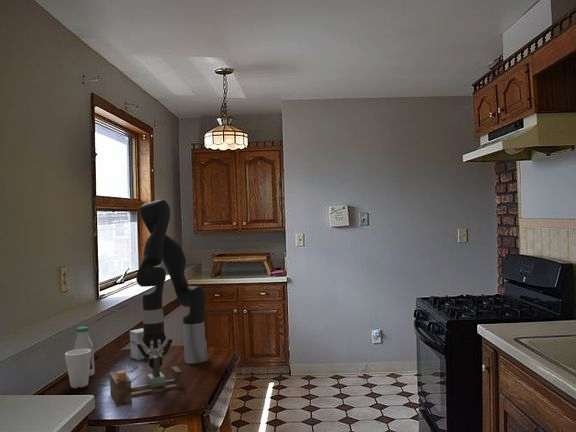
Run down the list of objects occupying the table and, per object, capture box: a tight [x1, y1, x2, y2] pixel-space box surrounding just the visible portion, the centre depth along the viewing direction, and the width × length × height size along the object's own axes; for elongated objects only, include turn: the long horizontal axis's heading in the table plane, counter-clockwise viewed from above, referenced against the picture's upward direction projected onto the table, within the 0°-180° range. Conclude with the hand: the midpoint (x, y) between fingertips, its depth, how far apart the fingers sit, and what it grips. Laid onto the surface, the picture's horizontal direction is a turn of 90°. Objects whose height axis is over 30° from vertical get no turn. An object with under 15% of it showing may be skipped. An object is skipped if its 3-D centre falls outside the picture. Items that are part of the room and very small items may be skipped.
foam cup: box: [64, 349, 91, 389], centre depth 197 cm, size 10×9×13 cm
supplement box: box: [129, 327, 148, 361], centre depth 235 cm, size 7×7×13 cm
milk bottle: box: [73, 326, 95, 377], centre depth 210 cm, size 8×8×20 cm
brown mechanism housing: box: [109, 365, 183, 408], centre depth 183 cm, size 24×15×8 cm, turn 117°
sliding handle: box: [147, 354, 166, 388], centre depth 188 cm, size 5×7×11 cm
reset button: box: [117, 370, 127, 382], centre depth 175 cm, size 2×2×4 cm
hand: (155, 367), depth 188 cm, fingers closed on sliding handle, 2 cm apart
